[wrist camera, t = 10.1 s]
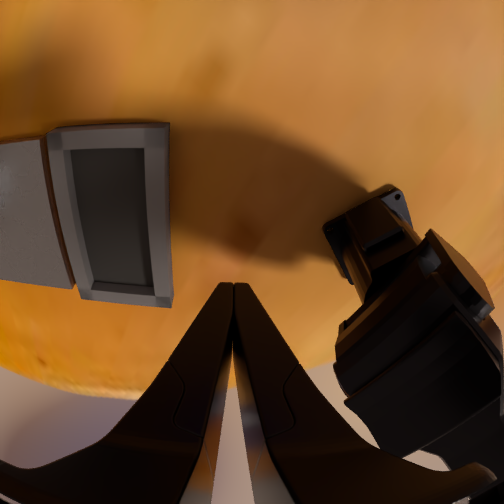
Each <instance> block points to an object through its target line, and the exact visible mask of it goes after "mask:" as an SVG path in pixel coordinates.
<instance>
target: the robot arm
mask: <svg viewBox="0 0 504 504" xmlns="http://www.w3.org/2000/svg"><path fill="white" fill-rule="evenodd" d="M396 194H398V196H397V197H395V195H396ZM329 228H332V230H331V231H327V230H328V229H329ZM323 232H324V234H325V236H326V238H327V240H328V242H329V244H330V246H331V248H332V250H333V252H334V254H335V256H336V258H337V259H338V261H339V263H340V265H341V267H342V269H343V271H344V273H345V275H346V277H347V279H348V281H349V283H350V284H351V285H355V288H356V290H357V293H358V295H359V297H360V300H361V302H362V306H361V307H360V308H359V309H358V310H357V311H356V312H355V313H354V314H353V315H352V316H350V317H349V318H348V319H347V320H344V321H343V322H342V323H341V324H340V325H339V332H338V337H337V341H336V344H335V353H336V362H335V363H334V364H333V369H334V372H335V375H336V378H337V380H338V383H339V385H340V387H341V389H342V390H343V392H344V393H345V395H346V396H347V397H348V398H347V399H345V400H344V404H345V405H346V407H348V408H349V409H350V410H352V411H353V412H354V413H355V414H357V415H358V417H359V418H360V419H361V420H362V421H363V422H364V424H365V425H366V426H367V427H368V429H369V431H370V432H371V434H372V435H373V437H374V439H375V441H376V442H377V444H378V446H379V448H380V449H379V448H377V447H374V446H373V445H371V444H369V443H368V442H366V441H365V440H364V439H363V438H361V437H360V436H359V435H358V434H357V433H356V432H355V431H354V430H353V428H351V426H350V425H349V424H348V423H347V422H346V421H345V420H344V418H343V417H342V416H341V415H340V414H339V413H338V412H337V411H336V410H335V408H334V407H333V406H332V405H331V404H330V403H329V402H328V400H327V399H326V398H325V397H324V396H323V394H322V393H321V392H320V391H319V390H318V388H317V387H316V386H315V384H314V383H313V382H312V380H311V379H310V377H309V376H308V375H307V373H306V372H305V370H304V369H303V367H302V366H301V364H299V361H298V360H297V358H296V357H295V355H294V354H293V352H292V351H291V349H290V347H289V346H288V344H287V343H286V341H285V340H284V338H283V337H282V335H281V334H280V332H279V331H278V329H277V327H276V326H275V324H274V323H273V321H272V320H271V318H270V317H269V315H268V314H267V312H266V310H265V309H264V307H263V306H262V304H261V303H260V301H259V299H258V298H257V296H256V295H255V293H254V292H253V290H252V289H251V287H250V285H249V284H248V283H234V285H233V283H231V282H220V283H219V284H218V285H217V287H216V288H215V290H214V291H213V293H212V294H211V296H210V297H209V299H208V300H207V302H206V303H205V305H204V306H203V308H202V309H201V311H200V312H199V314H198V315H197V317H196V318H195V320H194V321H193V323H192V324H191V326H190V327H189V329H188V330H187V332H186V333H185V335H184V336H183V338H182V339H181V341H180V342H179V344H178V345H177V347H176V348H175V350H174V351H173V353H172V354H171V356H170V357H169V359H168V361H167V362H166V363H165V365H164V366H163V368H162V369H161V371H160V372H159V374H158V375H157V376H156V378H155V379H154V381H153V382H152V383H151V385H150V386H149V387H148V388H147V390H146V391H145V392H144V393H143V395H142V396H141V397H140V398H139V399H138V400H137V402H136V403H135V404H134V405H133V406H132V407H131V408H130V410H129V411H128V412H127V413H126V414H125V415H124V416H123V417H122V419H121V420H120V421H119V422H118V423H117V424H116V426H114V428H113V429H112V430H111V431H110V432H109V433H108V434H107V435H106V436H105V437H103V438H102V439H101V440H99V441H98V442H96V443H94V444H92V445H90V446H88V447H86V448H84V449H82V450H79V451H77V452H75V453H72V454H71V455H68V456H65V457H63V458H61V459H58V460H56V461H54V462H51V463H49V464H46V465H44V466H41V467H37V468H32V469H24V468H19V467H16V466H13V465H11V464H9V463H7V462H5V461H2V460H0V493H1V494H3V495H5V496H7V497H8V498H10V499H12V500H14V501H16V502H18V503H21V504H211V498H212V491H213V484H214V482H213V481H214V477H215V470H216V462H217V456H218V449H219V442H220V435H221V427H222V421H223V414H224V407H225V400H226V393H227V386H228V380H229V373H230V366H231V359H232V342H233V361H234V369H235V376H236V384H237V391H238V398H239V405H240V412H241V419H242V425H243V433H244V439H245V445H246V452H247V459H248V464H249V471H250V477H251V482H252V490H253V496H254V501H255V504H504V360H503V345H502V335H501V331H500V329H499V327H498V326H497V325H496V323H495V322H494V320H493V319H492V318H491V316H490V315H489V314H490V313H491V311H492V310H493V309H494V308H495V307H494V304H493V301H492V299H491V296H490V294H489V291H488V289H487V287H486V284H485V282H484V281H483V279H482V278H481V277H480V275H479V274H478V273H477V272H476V271H475V269H474V268H473V267H472V266H471V265H470V263H469V262H468V261H467V260H466V259H465V258H464V257H463V256H462V255H461V254H460V253H459V252H458V251H456V250H455V249H454V248H453V247H452V246H451V245H450V244H449V243H447V242H446V241H445V240H444V239H443V238H442V237H440V236H439V235H438V234H437V233H436V232H435V231H433V230H432V229H431V228H430V229H429V231H428V232H427V233H426V234H425V236H426V237H425V238H424V239H423V240H421V238H420V237H419V236H418V235H417V233H416V232H415V231H414V230H413V226H412V222H411V218H410V215H409V211H408V208H407V204H406V201H405V198H404V195H403V193H402V191H401V190H400V189H398V188H395V189H392V190H390V191H388V192H386V193H384V194H382V195H380V196H378V197H375V198H373V199H371V200H369V201H367V202H365V203H363V204H361V205H359V206H357V207H355V208H353V209H351V210H349V211H347V212H346V213H345V214H343V215H341V216H339V217H337V218H335V219H333V220H331V221H329V222H327V223H326V224H324V226H323ZM417 450H421V451H424V452H427V453H430V454H434V455H437V456H439V457H440V458H441V459H442V460H443V462H444V463H445V464H446V466H447V467H448V469H449V470H450V471H435V470H431V469H428V468H425V467H422V466H420V465H417V464H415V463H412V462H409V461H407V460H405V459H402V458H403V457H406V456H408V455H410V454H411V453H413V452H415V451H417ZM468 498H469V499H470V500H468ZM0 504H12V503H10V502H8V501H6V500H4V499H2V498H0Z"/></svg>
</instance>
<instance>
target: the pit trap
mask: <svg viewBox="0 0 504 504" xmlns="http://www.w3.org/2000/svg"><path fill="white" fill-rule="evenodd" d="M169 132H170V123H110V124H91V125H77V126H65V127H57V128H55V129H53V130H52V131H50V132H48V133H46V135H47V145H48V154H49V161H50V168H51V175H52V181H53V187H54V193H55V199H56V204H57V209H58V214H59V218H60V223H61V227H62V232H63V236H64V240H65V244H66V248H67V252H68V256H69V259H70V263H71V267H72V270H73V274H74V277H75V280H76V283H77V287H78V290H79V293H80V296H81V299H86V300H94V301H103V302H112V303H121V304H131V305H141V306H152V307H163V308H171V307H172V302H173V297H174V291H173V277H172V260H171V239H170V209H169Z"/></svg>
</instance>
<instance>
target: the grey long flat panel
mask: <svg viewBox="0 0 504 504" xmlns="http://www.w3.org/2000/svg"><path fill="white" fill-rule="evenodd" d="M0 279H1V280H8V281H14V282H21V283H28V284H35V285H42V286H49V287H57V288H64V289H73V287H74V285H75V283H76V280H75V277H74V274H73V270H72V267H71V263H70V259H69V256H68V252H67V248H66V244H65V240H64V236H63V232H62V227H61V223H60V218H59V214H58V209H57V204H56V199H55V193H54V187H53V181H52V175H51V168H50V161H49V154H48V145H47V135H45V136H36V137H27V138H19V139H12V140H5V141H0Z"/></svg>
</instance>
